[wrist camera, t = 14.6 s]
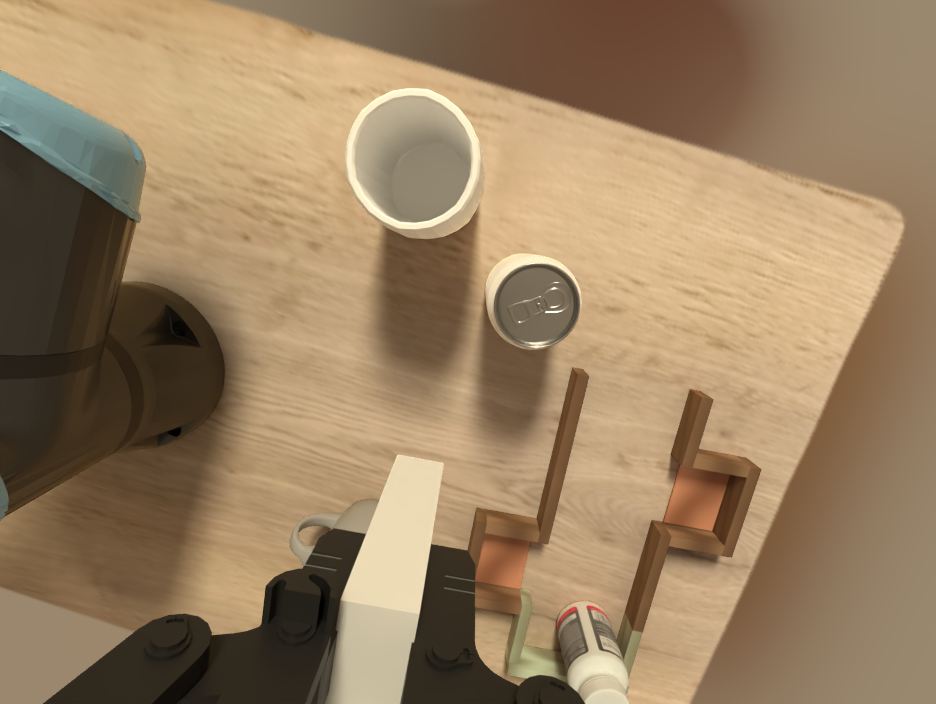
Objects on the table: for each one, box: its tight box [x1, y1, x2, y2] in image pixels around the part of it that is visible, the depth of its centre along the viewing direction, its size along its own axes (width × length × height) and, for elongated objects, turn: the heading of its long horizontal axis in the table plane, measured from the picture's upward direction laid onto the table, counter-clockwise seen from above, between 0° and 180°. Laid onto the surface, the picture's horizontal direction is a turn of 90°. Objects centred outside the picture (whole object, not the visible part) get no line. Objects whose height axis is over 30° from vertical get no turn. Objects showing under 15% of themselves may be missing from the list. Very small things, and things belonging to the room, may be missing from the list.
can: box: [485, 254, 581, 350], centre depth 38 cm, size 6×6×12 cm
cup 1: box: [290, 499, 379, 566], centre depth 44 cm, size 8×10×8 cm
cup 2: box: [345, 88, 485, 239], centre depth 35 cm, size 8×8×14 cm
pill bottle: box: [557, 601, 629, 704], centre depth 46 cm, size 5×5×10 cm
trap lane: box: [468, 367, 761, 694], centre depth 47 cm, size 24×31×3 cm
